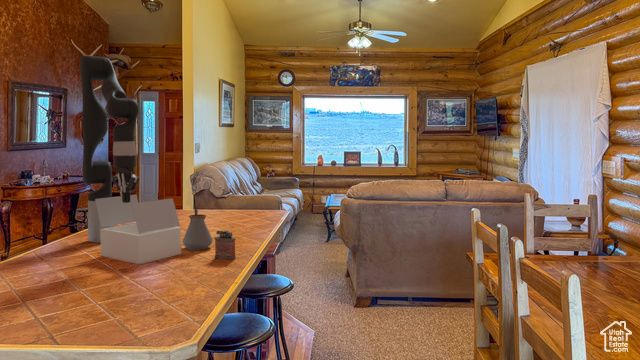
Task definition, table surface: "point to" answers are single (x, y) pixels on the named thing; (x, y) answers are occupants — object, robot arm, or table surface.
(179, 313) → the table surface
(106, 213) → the flap
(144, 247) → the carton
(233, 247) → the lighter
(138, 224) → the flap
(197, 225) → the coffee pot
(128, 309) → the table surface
